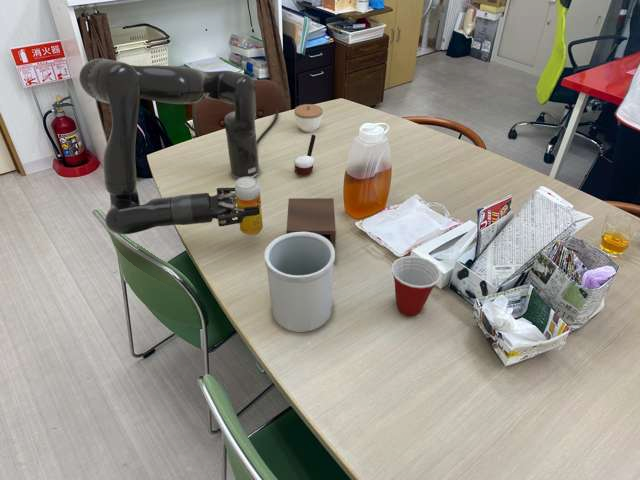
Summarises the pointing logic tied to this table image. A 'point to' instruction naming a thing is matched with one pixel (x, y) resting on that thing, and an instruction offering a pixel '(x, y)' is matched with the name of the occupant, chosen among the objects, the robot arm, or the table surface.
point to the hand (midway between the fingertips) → (258, 202)
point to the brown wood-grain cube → (312, 217)
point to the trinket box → (308, 117)
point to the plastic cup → (413, 283)
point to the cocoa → (305, 161)
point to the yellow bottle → (249, 204)
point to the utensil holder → (300, 280)
